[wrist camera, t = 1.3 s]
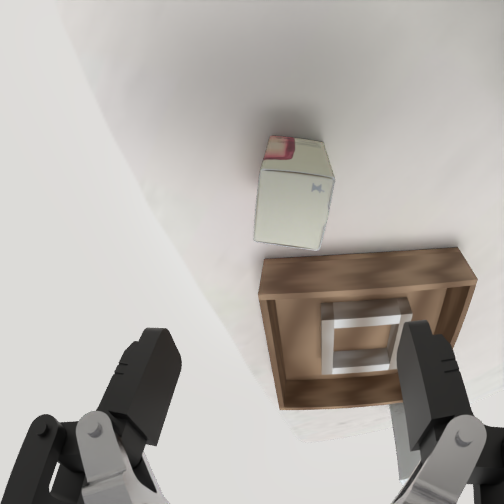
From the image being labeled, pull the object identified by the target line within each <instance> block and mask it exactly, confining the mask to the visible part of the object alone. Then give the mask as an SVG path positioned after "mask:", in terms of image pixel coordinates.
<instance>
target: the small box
mask: <svg viewBox="0 0 504 504" xmlns="http://www.w3.org/2000/svg"><path fill="white" fill-rule="evenodd" d="M334 183H335V177H334V174H333V171H332V168H331V165H330V162H329V158H328V155H327V152H326V149H325V146H324V143H323V142H319V141H313V140H307V139H300V138H292V137H282V136H270V138H269V141H268V145H267V149H266V152H265V156H264V159H263V163H262V166H261V169H260V174H259V181H258V189H257V198H256V209H255V221H254V241H255V242H259V243H266V244H273V245H279V246H285V247H291V248H298V249H307V250H313V251H318V250H319V249H320V248H321V244H322V240H323V236H324V232H325V227H326V223H327V219H328V214H329V209H330V204H331V199H332V193H333V188H334Z"/></svg>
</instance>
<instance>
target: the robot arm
mask: <svg viewBox="0 0 504 504" xmlns="http://www.w3.org/2000/svg"><path fill="white" fill-rule="evenodd" d="M396 361H397V370H398V375H399V381H400V386H401V392H402V398H403V404H404V410H405V416H406V423H407V430H408V438H409V446H410V452H411V451H417V450H420V455H421V460H420V461H419V463H418V464H417V466H416V468H415V469H414V471H413V472H412V474H411V476H410V477H409V479H408V480H407V482H406V483H405V485H404V486H403V488H402V489H401V490H400V492H399V493H398V495H397V496H396V497H395V499H394V500H393V502H392V503H391V504H456V503H457V501H458V498H459V497H460V495H461V493H462V491H463V489H464V487H465V485H466V484H473V487H474V504H504V428H500V427H490V426H486V425H484V424H483V423H482V422H481V421H480V420H479V419H478V418H476V417H475V416H474V415H473V413H472V411H471V407H470V404H469V400H468V397H467V393H466V390H465V386H464V383H463V380H462V376H461V373H460V371H459V367H458V364H457V361H456V360H455V355H454V352H453V349H452V346H451V344H450V343H449V342H448V341H447V340H446V339H445V337H444V336H443V335H442V334H436V335H433V334H432V331H431V328H430V325H429V323H428V321H427V320H418V321H409V322H405V323H404V325H403V329H402V333H401V338H400V342H399V346H398V350H397V358H396ZM181 363H182V361H181V356H180V353H179V351H178V349H177V347H176V345H175V343H174V341H173V339H172V336H171V334H170V332H169V331H168V330H167V329H166V328H146V329H145V330H144V331H143V333H142V336H141V337H140V339H139V342H138V341H134V342H133V343H132V344H131V345H130V346H129V347H128V348H127V349H126V350H125V351H124V353H123V355H122V357H121V360H120V362H119V365H118V366H117V368H116V370H115V374H114V375H113V376H112V378H111V380H110V383H109V385H108V387H107V389H106V391H105V394H104V396H103V398H102V400H101V402H100V404H99V407H98V408H97V410H96V411H92V412H89V413H87V414H85V415H84V416H83V417H82V418H81V419H80V420H79V421H76V422H62V423H59V422H58V421H57V420H56V419H55V418H54V417H53V416H51V415H48V414H44V415H41V416H39V417H37V418H36V419H35V420H34V421H33V422H32V424H31V426H30V428H29V430H28V433H27V435H26V437H25V440H24V442H23V444H22V447H21V449H20V452H19V454H18V457H17V459H16V462H15V465H14V467H13V470H12V472H11V475H10V478H9V481H8V484H7V486H6V489H5V493H4V496H3V498H2V501H1V504H170V503H169V502H168V501H167V499H166V498H165V497H164V495H163V494H162V492H161V490H160V487H159V485H158V483H157V481H156V479H155V476H154V474H153V472H152V469H151V467H150V465H149V462H148V461H147V458H146V455H145V453H144V452H143V450H144V447H145V444H148V445H153V446H157V443H158V440H159V437H160V433H161V430H162V427H163V424H164V421H165V418H166V415H167V412H168V408H169V405H170V402H171V399H172V396H173V393H174V390H175V386H176V384H177V381H178V378H179V375H180V372H181V366H182V364H181ZM57 462H58V463H60V466H59V469H58V472H57V475H56V478H55V481H54V484H53V487H52V490H51V492H49V484H50V481H51V478H52V475H53V472H54V469H55V466H56V464H57Z"/></svg>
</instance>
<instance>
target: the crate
mask: <svg viewBox="0 0 504 504" xmlns="http://www.w3.org/2000/svg"><path fill="white" fill-rule="evenodd" d="M477 280H478V279H477V277H476V276H475V274H474V272H473V271H472V269H471V267H470V266H469V264H468V263H467V261H466V259H465V258H464V256H463V255H462V253H461V252H460V250H459V249H458V247H455V248H440V249H425V250H409V251H393V252H377V253H361V254H344V255H327V256H310V257H293V258H275V259H264V263H263V269H262V274H261V280H260V286H259V292H258V297H259V302H260V308H261V313H262V318H263V324H264V329H265V334H266V340H267V345H268V350H269V356H270V361H271V366H272V372H273V377H274V382H275V388H276V393H277V398H278V403H279V409H280V410H314V409H337V408H353V407H365V406H376V405H385V404H394V403H402V402H403V398H402V392H401V386H400V381H399V375H398V370H397V361H396V358H397V350H398V346H399V342H400V338H401V333H402V329H403V325H404V323H405V322H409V321H418V320H427V321H428V323H429V325H430V328H431V331H432V334H433V335H436V334H442V335H443V336H444V337H445V339H446V340H447V341H448V342H449V343H450V344H451V346H452V349H453V347H454V345H455V342H456V340H457V337H458V335H459V332H460V330H461V327H462V324H463V322H464V319H465V316H466V313H467V311H468V308H469V305H470V302H471V299H472V296H473V293H474V290H475V286H476V283H477Z"/></svg>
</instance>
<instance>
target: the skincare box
mask: <svg viewBox="0 0 504 504" xmlns="http://www.w3.org/2000/svg"><path fill="white" fill-rule="evenodd" d="M389 406H390V411H391V418H392V424H393V431H394V437H395V444H396V451H397V460H398V469H399V480H400V482H401V483H402V484H403V486H404V485H405V483H406V482H407V480H408V479H409V477H410V476H411V474H412V472H413V471H414V469H415V468H416V466H417V464H418V463H419V461H420V460H421V455H420V450H417V451H411V452H410V446H409V438H408V430H407V423H406V416H405V410H404V404H403V402H402V403H394V404H389Z"/></svg>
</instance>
